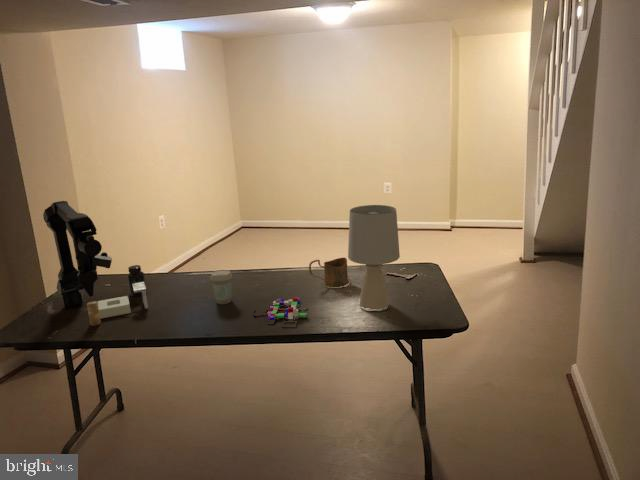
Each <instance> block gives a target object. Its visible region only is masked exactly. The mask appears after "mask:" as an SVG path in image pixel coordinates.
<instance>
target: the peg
mask: <svg viewBox="0 0 640 480" xmlns="http://www.w3.org/2000/svg"><path fill="white" fill-rule="evenodd" d="M86 308H87V312H88V314H87V315H88V319H89V324H90V326H92V327H94V326H95V327H96V326H98V325H101V324H102V320H101V319H100V314H99V308H98V301H95V300H94V301H90V302H88V303H86Z"/></svg>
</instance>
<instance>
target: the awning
mask: <svg viewBox="0 0 640 480" xmlns="http://www.w3.org/2000/svg"><path fill="white" fill-rule="evenodd" d="M132 286H133V290H134V293H137V292H142V295H141V298H142V303H143V307H144V309H145V310H147V309H149V304H148V298H147V293H146V288H147V286H146V287H145V284H144V282H140V283H134V284H132Z"/></svg>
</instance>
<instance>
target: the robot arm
mask: <svg viewBox="0 0 640 480" xmlns="http://www.w3.org/2000/svg"><path fill="white" fill-rule="evenodd" d="M42 217H43V221H44V222H45V224H46V227H47V228H48V229H50V231H51V232H52V233H53V238H54V241H55V242H54V243H55V247H56V251H57V252H56V253H57V256H58V260H59V261H58V262H59V265H60V269H59V271H58V274H57V277H58V278H57V279H58V280H57V283H56V290H57V293H58V294H59V295H60V296H62V300H63V306H64V307H63V310H68V309H73V308H74V309H75V308H79V307H80V308H81V307H82V306H83V304H84V298H83V293H82V291H83V290H84V291H85V292H86V293H87V295H88V296H89V297H94V288H95V287H94V286H95V282H96V281H98V279H99V275H98V270H97V269H98V268H97V267H99V268H100V267H101V268H105V269H110V268H111V265H112V261H113V260H112V257H111V256H110V255H109V256H108V252H106V251H105V252H104V251H102V248H103V246H102V244H101V242H100V241H98V240H97V239H95V236H96V235H97V234H98V233H97V230H98V229H97V228H96V226H95V223H94V222H93V220H92V218H91V217H89V216H88V214H86V213H81V212H77V211H76V210H75V209H74V208H72V206H71V205H69V203H68V201H67V200H58V201H55V202H54V201H53V202H52V203H51V205H50V206H48V207H47V208H45V209H44V210H43V214H42ZM68 233H69V235H70V237H71V238H72V244H73V249H74V253H75V260H76V265H77V268H76V267H75V265H74V261H73V256H72V252H71V247H70V246H71V245H70V243H69V238H68V237H69V236H68ZM101 251H102V252H101ZM81 290H82V291H81Z"/></svg>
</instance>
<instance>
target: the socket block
mask: <svg viewBox="0 0 640 480" xmlns="http://www.w3.org/2000/svg"><path fill="white" fill-rule="evenodd" d="M129 300H130V299H129V296H128V295H125V296H119V297H114V298H108V299H107V298H106V299H101V300H98V301H97V302H98V308H99V314H100V320H101V319H105V318H111V317H117V316H121V315H125V314H126V315H127V314H131V313H132V311H131V306H130V301H129Z"/></svg>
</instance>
